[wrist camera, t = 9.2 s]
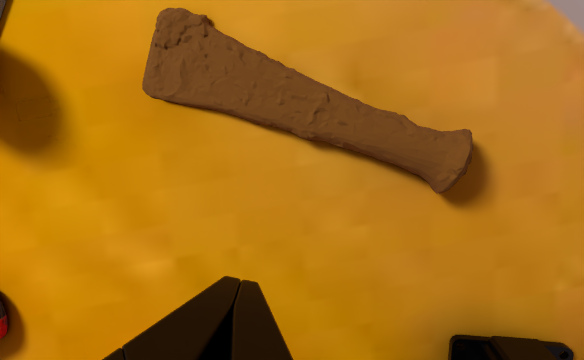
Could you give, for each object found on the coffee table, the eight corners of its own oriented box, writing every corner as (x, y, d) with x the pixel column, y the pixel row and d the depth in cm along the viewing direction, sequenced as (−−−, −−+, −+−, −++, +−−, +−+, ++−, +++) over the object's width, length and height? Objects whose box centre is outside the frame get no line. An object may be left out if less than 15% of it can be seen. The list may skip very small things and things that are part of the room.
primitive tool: (143, 93, 20) (105, 85, 17) (164, 4, 19) (128, -24, 16) (441, 193, 19) (465, 206, 16) (479, 102, 18) (514, 94, 15)
